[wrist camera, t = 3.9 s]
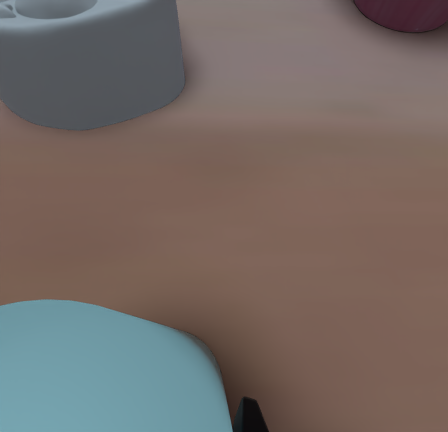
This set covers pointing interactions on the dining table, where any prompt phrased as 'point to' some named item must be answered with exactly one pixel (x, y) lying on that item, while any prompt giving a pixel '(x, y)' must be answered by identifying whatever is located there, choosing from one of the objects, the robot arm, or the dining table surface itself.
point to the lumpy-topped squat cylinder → (89, 60)
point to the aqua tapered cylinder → (104, 373)
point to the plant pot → (406, 13)
